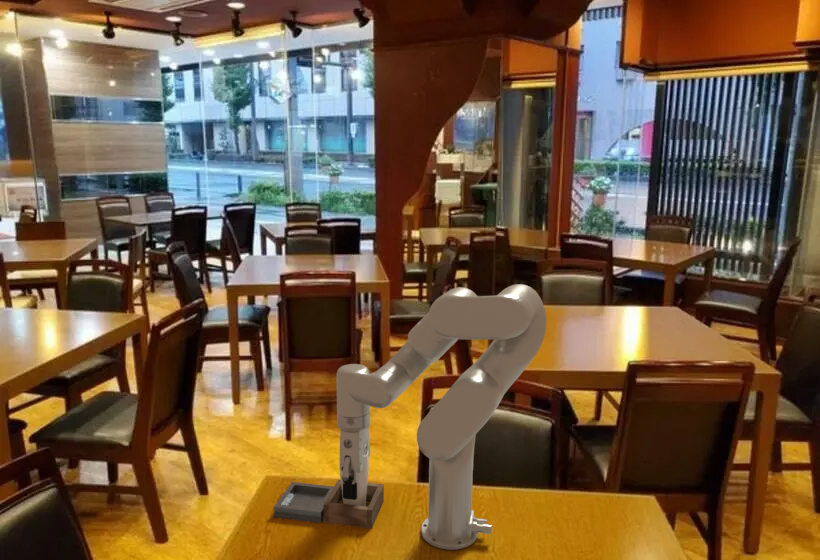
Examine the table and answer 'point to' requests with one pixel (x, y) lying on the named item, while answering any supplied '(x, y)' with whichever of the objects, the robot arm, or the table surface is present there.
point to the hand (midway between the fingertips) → (354, 489)
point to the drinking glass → (358, 484)
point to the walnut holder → (354, 507)
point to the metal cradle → (303, 502)
